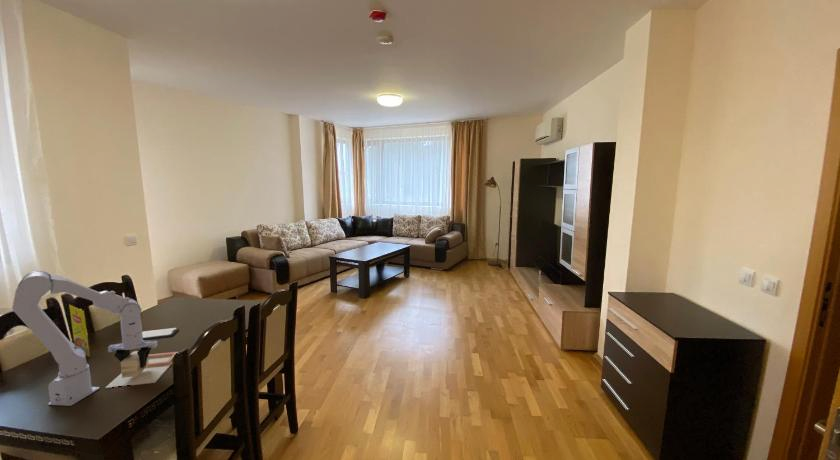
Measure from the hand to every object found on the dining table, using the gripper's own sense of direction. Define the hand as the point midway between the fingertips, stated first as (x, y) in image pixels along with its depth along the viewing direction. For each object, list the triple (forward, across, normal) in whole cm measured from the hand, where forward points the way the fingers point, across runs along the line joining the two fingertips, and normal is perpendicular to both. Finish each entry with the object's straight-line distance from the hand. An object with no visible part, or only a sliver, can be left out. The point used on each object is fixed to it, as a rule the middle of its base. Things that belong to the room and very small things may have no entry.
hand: (135, 367), depth 123 cm
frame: (+3, -2, -10) cm, 11 cm away
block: (+2, 0, 0) cm, 2 cm away
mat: (+4, -1, -5) cm, 6 cm away
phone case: (+4, +11, -38) cm, 40 cm away
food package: (+4, +32, -26) cm, 42 cm away
